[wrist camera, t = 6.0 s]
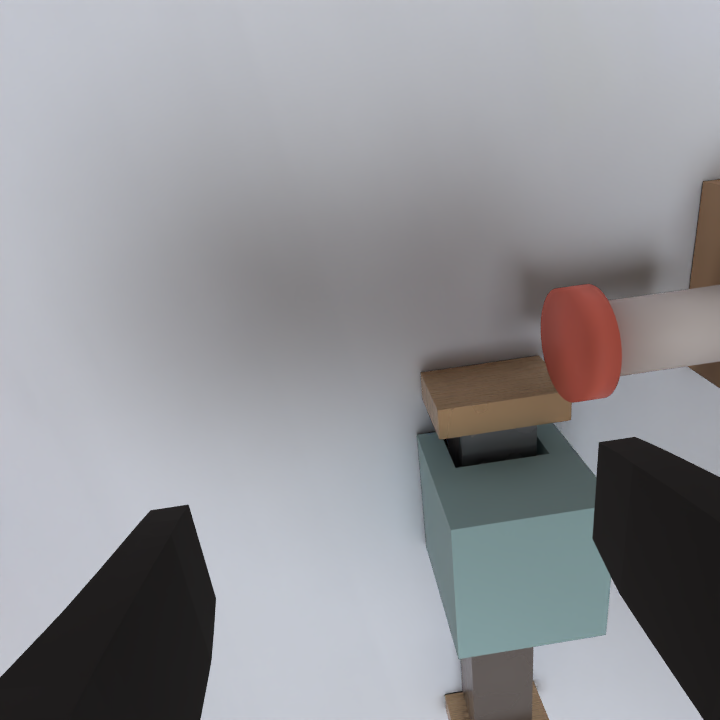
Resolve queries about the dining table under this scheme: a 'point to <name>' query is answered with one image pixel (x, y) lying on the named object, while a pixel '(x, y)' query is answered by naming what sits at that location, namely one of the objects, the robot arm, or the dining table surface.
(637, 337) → the plunger
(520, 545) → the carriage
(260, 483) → the dining table surface
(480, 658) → the rail
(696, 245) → the cabinet
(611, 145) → the dining table surface
